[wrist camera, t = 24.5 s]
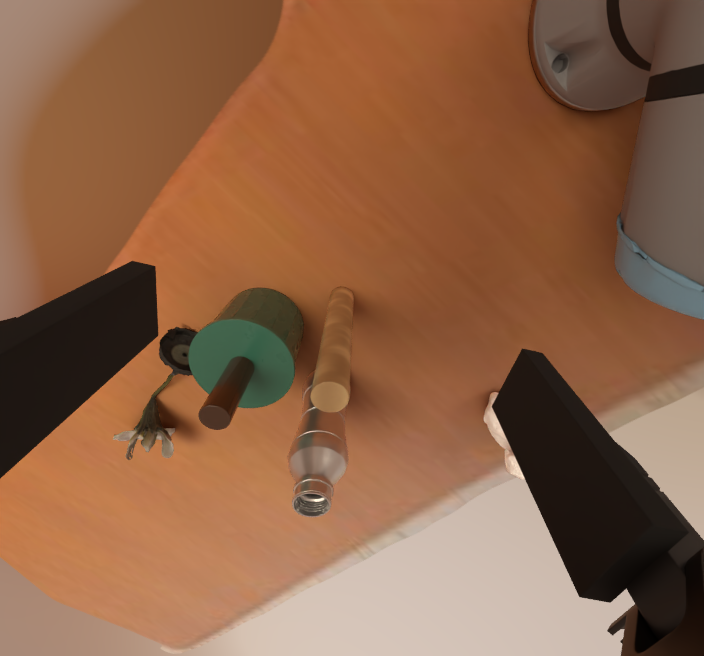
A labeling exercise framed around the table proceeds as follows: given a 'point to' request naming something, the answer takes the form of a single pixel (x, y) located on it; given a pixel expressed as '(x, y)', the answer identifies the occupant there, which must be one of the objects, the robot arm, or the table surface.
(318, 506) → the plastic bottle
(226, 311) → the pot
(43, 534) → the table surface
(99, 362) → the robot arm
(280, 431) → the table surface
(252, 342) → the lid
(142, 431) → the artificial flower
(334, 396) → the stick
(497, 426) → the bust
